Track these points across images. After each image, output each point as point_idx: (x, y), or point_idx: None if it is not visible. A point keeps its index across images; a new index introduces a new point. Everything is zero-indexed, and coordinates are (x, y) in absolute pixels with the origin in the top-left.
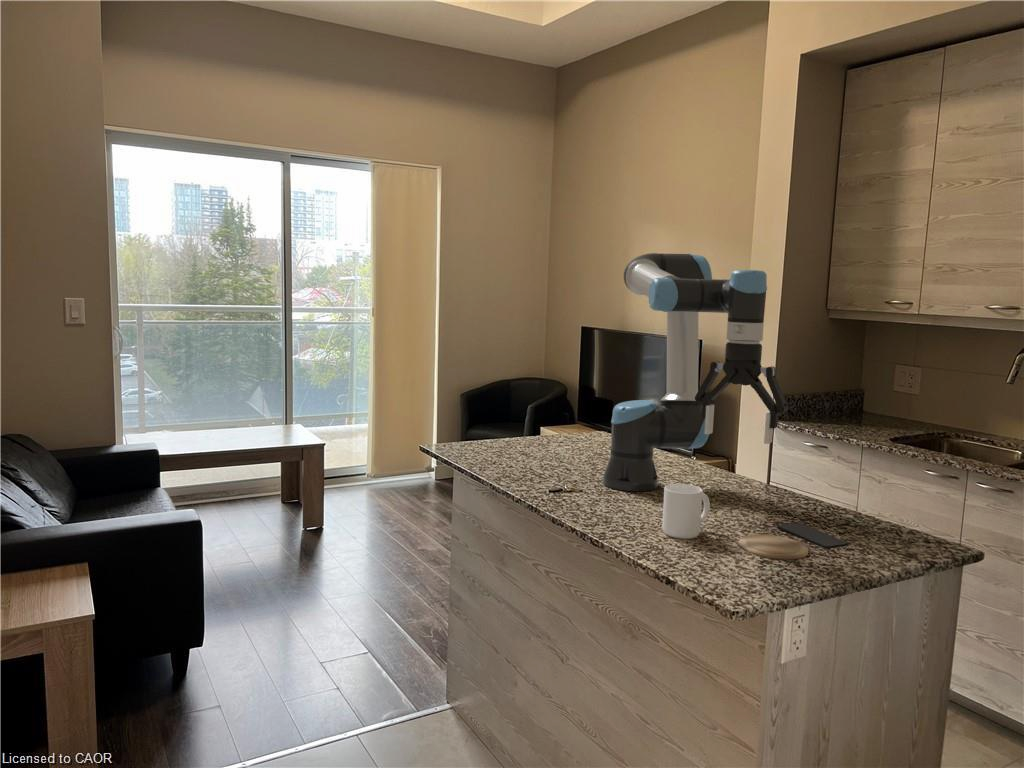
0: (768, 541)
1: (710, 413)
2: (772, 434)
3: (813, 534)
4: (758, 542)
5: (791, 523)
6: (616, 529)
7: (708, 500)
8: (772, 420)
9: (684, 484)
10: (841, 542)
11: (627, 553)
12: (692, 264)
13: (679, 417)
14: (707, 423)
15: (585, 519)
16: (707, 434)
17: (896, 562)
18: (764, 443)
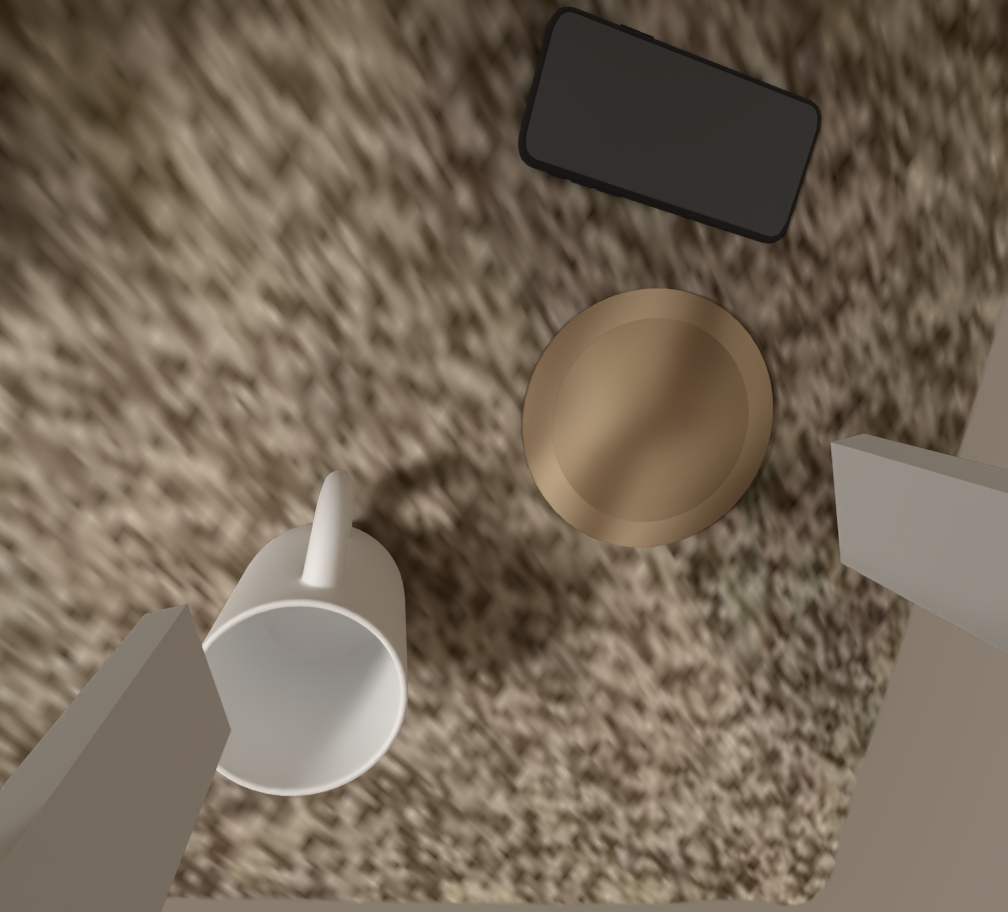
0: (621, 405)
1: (117, 907)
2: (929, 455)
3: (683, 128)
4: (604, 451)
5: (546, 56)
6: None
7: (350, 506)
8: None
9: (230, 627)
10: (800, 128)
11: (376, 898)
12: None
13: None
14: (183, 833)
15: None
16: (229, 729)
17: (999, 168)
18: (846, 563)
